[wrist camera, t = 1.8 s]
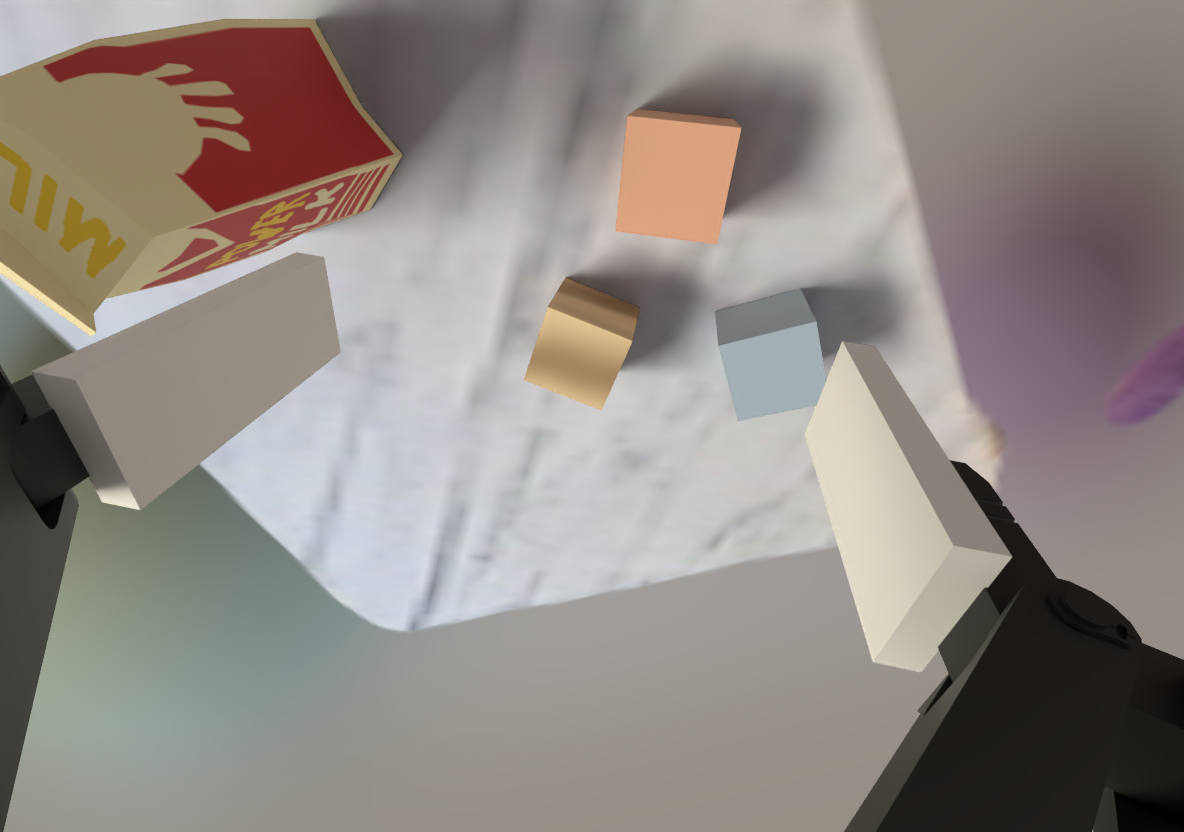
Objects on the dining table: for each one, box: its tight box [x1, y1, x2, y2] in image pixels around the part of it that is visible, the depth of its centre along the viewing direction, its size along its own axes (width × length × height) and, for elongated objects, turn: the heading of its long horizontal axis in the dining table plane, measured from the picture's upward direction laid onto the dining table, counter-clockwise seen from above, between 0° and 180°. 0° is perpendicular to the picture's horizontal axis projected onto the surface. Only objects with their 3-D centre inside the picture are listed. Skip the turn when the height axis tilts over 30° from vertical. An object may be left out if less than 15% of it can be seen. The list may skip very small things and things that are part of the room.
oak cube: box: [524, 278, 640, 410], centre depth 33 cm, size 5×5×5 cm
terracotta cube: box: [616, 109, 741, 244], centre depth 27 cm, size 5×5×5 cm
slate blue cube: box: [715, 288, 826, 421], centre depth 31 cm, size 5×5×5 cm
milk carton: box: [0, 19, 402, 336], centre depth 23 cm, size 9×9×20 cm
